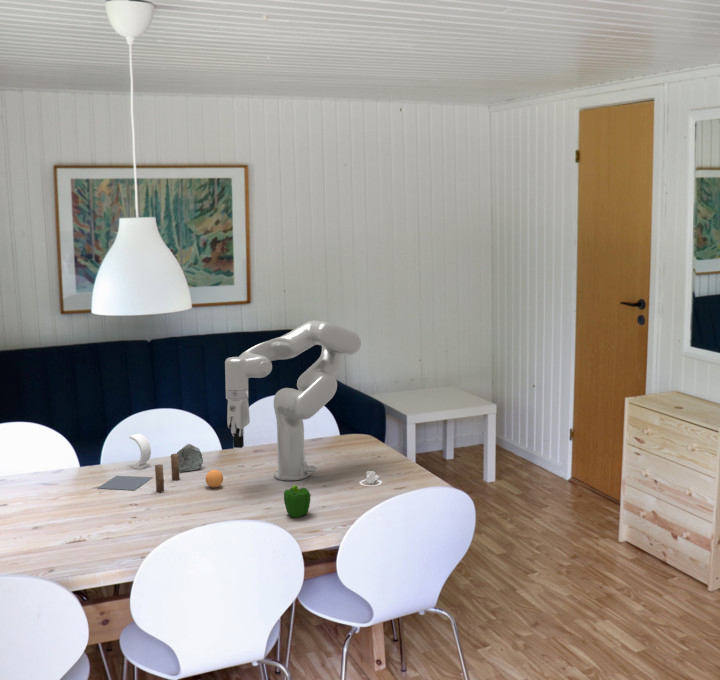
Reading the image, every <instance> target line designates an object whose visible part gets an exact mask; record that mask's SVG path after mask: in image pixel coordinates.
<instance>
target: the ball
mask: <svg viewBox="0 0 720 680" xmlns="http://www.w3.org/2000/svg"><path fill="white" fill-rule="evenodd" d="M223 482H224V475H223V473H222V472H221V471H219V470H218V469H212V470H210V471H209V472H207V473H206V476H205V483H206V485H207V486H208V487H210V488H214V489H215V488H218V487H220V486H222V484H223Z"/></svg>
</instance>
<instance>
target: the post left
mask: <svg viewBox="0 0 720 680" xmlns="http://www.w3.org/2000/svg"><path fill="white" fill-rule="evenodd" d="M154 472H155V473H154V475H155V491H156V493H164V492H165V480H164V479H165V478H164V465H163V464H155V465H154Z"/></svg>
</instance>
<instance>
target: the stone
mask: <svg viewBox="0 0 720 680" xmlns="http://www.w3.org/2000/svg"><path fill="white" fill-rule="evenodd" d="M176 454H178V458H179V473H183V472H190V471H191V472H192V471H196V470H199V469H201V468H202V465H203V464H204V458H203V454H202V451H201V450H200V448H198V447H196V446H195V445H193V444H191V443H186V444H185V445H184V446H183V447H182V448H181V449H179V450H178V451H177V452H176Z"/></svg>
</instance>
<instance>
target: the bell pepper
mask: <svg viewBox="0 0 720 680" xmlns="http://www.w3.org/2000/svg"><path fill="white" fill-rule="evenodd" d="M283 502H284V507H285V509H286V513H287V514H288V515H289V516H290V517H291V518H301V517H303V516H305V515H307V514H308V513H309V508H310V505H311V493H310V491H309V490H308V489H307V488H306V487H302V488H298V485H296V484H294V485H292V486H291V487H290V488H289V489H284V492H283Z"/></svg>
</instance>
